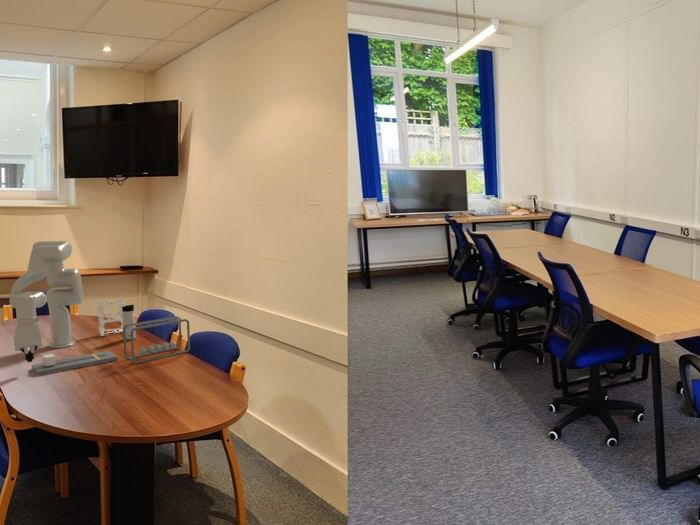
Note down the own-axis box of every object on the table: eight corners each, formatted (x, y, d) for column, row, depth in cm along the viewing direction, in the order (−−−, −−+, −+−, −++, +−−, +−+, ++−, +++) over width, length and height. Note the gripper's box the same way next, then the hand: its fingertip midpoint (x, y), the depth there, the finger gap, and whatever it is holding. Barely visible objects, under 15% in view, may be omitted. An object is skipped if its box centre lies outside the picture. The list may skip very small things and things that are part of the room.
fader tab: (43, 364, 235) (42, 355, 235) (53, 362, 238) (52, 353, 237) (45, 366, 231) (45, 357, 231) (55, 364, 234) (54, 356, 234)
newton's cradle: (132, 364, 242) (130, 328, 240) (124, 360, 249) (122, 325, 247) (190, 351, 263) (189, 318, 261) (181, 347, 270) (179, 315, 268)
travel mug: (131, 340, 284) (129, 306, 281) (121, 340, 285) (119, 305, 283) (138, 338, 290) (136, 303, 288) (128, 337, 291) (126, 303, 289)
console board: (32, 369, 236) (31, 364, 235) (109, 354, 258) (108, 350, 258) (37, 376, 226) (37, 371, 226) (117, 360, 248) (117, 356, 248)
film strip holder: (124, 329, 311) (122, 297, 308) (127, 334, 299) (125, 300, 297) (98, 332, 303) (96, 299, 301) (100, 337, 291) (98, 303, 289)
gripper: (44, 318, 235) (46, 356, 236) (5, 322, 225) (8, 363, 227) (47, 320, 229) (50, 360, 231) (8, 325, 219) (11, 366, 221)
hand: (29, 361), depth 229 cm, fingers closed
